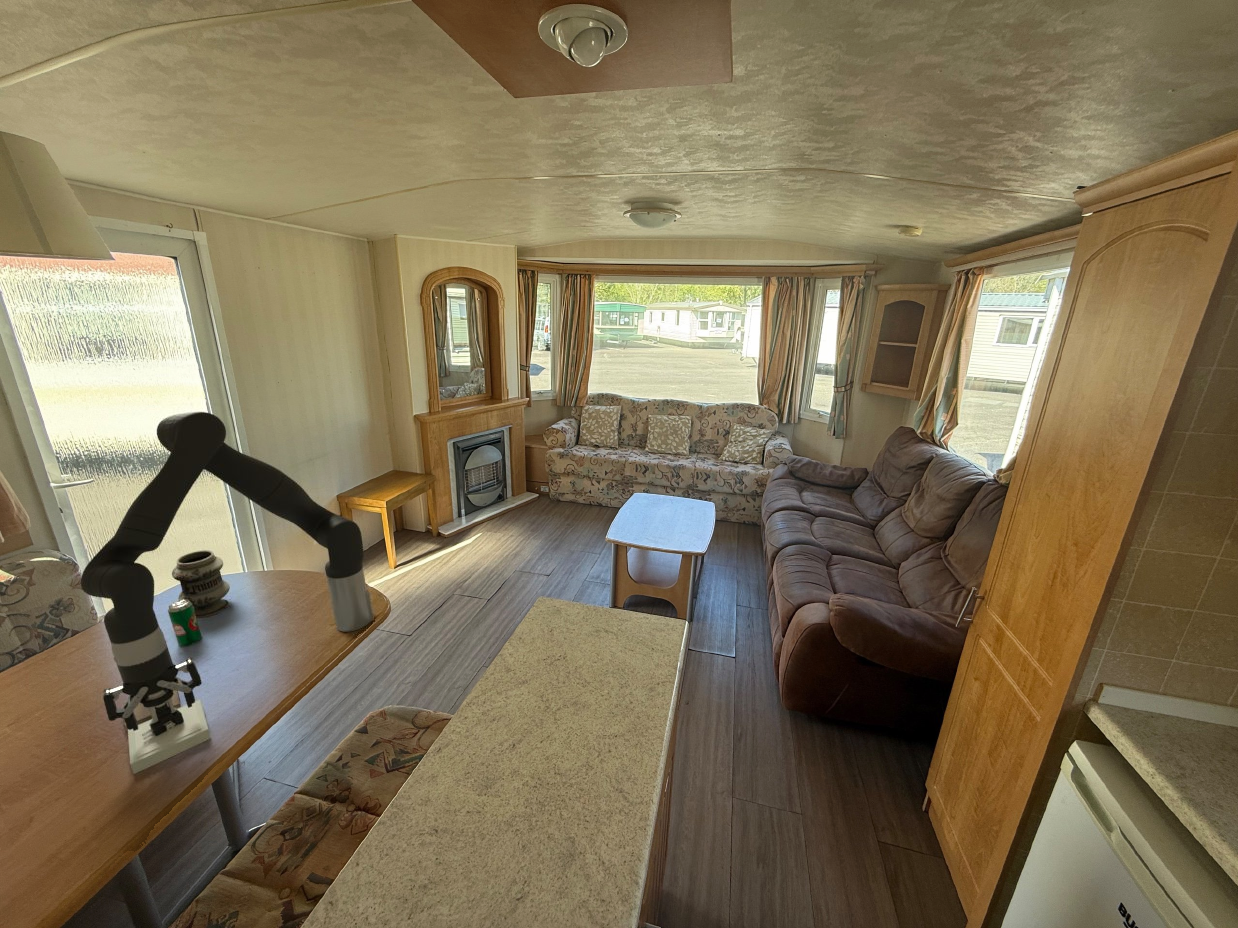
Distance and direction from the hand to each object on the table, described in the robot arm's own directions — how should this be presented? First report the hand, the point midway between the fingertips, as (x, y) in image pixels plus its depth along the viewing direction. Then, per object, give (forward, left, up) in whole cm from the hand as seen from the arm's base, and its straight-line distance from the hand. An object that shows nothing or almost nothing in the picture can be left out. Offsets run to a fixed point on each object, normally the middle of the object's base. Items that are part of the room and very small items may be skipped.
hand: (163, 716), depth 103 cm
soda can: (-7, -39, -6) cm, 40 cm away
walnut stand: (+2, -13, -6) cm, 14 cm away
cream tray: (0, 0, -6) cm, 6 cm away
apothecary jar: (-13, -55, -6) cm, 57 cm away
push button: (+1, 0, -3) cm, 3 cm away
